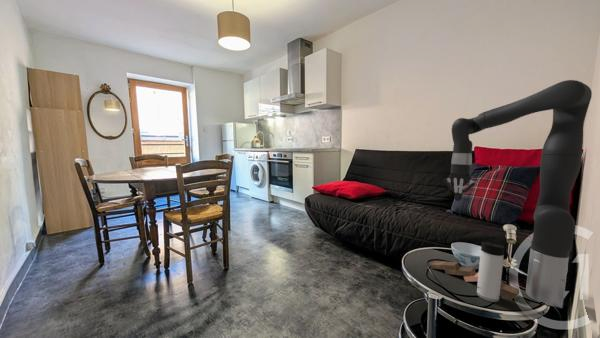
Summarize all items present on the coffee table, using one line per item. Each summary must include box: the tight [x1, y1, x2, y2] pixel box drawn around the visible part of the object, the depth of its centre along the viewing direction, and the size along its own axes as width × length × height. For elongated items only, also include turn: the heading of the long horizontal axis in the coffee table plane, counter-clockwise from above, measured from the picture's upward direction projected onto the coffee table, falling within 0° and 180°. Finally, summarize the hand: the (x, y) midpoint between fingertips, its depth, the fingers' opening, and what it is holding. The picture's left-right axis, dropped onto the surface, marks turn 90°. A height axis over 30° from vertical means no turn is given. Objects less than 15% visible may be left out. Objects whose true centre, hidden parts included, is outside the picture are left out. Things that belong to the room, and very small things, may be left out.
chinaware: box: [450, 241, 481, 270], centre depth 106 cm, size 15×15×8 cm
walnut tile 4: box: [499, 293, 514, 301], centre depth 87 cm, size 2×5×10 cm
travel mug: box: [476, 241, 505, 303], centre depth 83 cm, size 6×7×20 cm
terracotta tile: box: [463, 271, 479, 283], centre depth 91 cm, size 2×5×10 cm
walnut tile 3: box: [500, 282, 520, 300], centre depth 86 cm, size 2×5×10 cm
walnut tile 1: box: [429, 260, 460, 271], centre depth 101 cm, size 2×5×10 cm
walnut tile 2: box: [444, 266, 476, 277], centre depth 97 cm, size 2×5×10 cm
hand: (458, 200), depth 107 cm, fingers closed
